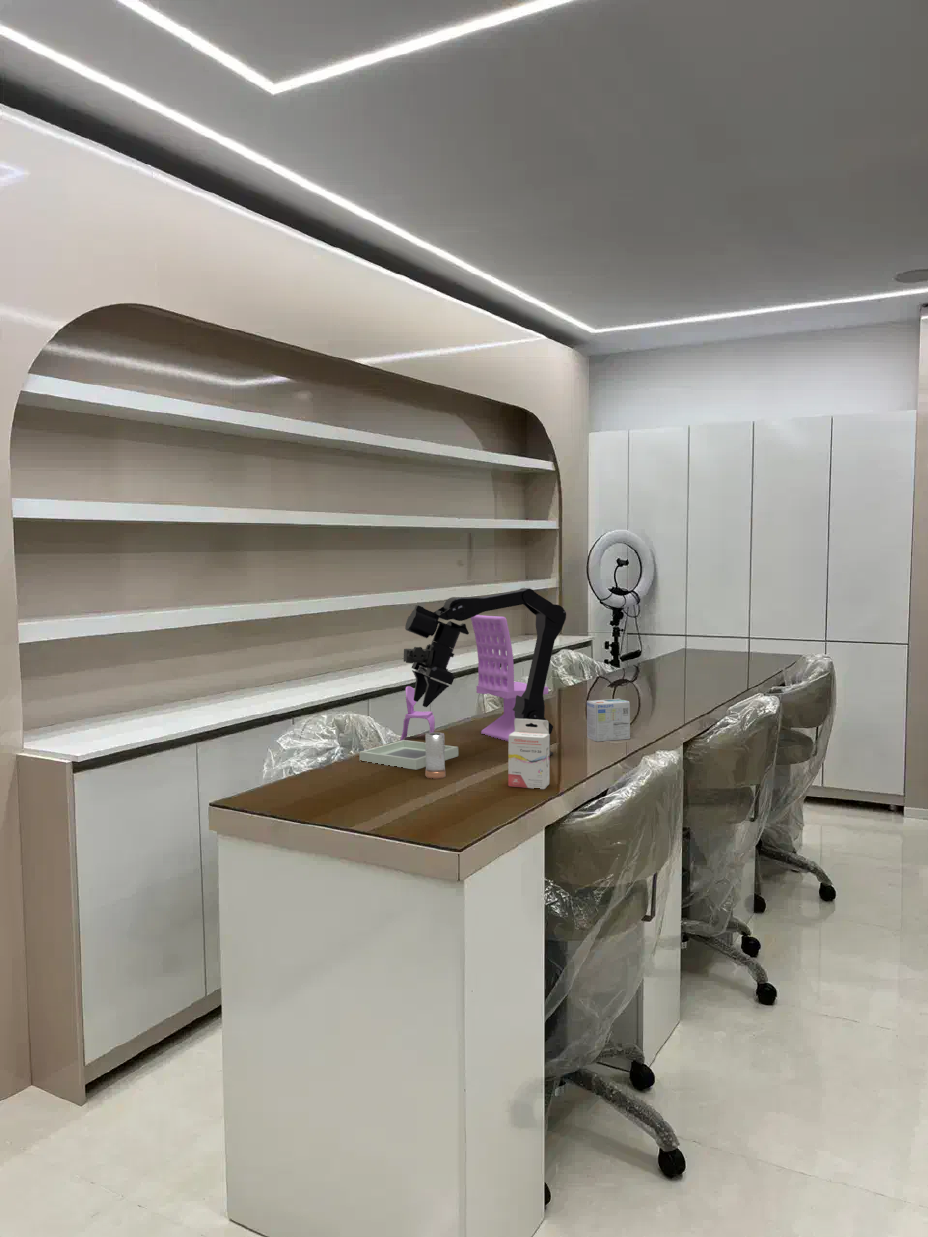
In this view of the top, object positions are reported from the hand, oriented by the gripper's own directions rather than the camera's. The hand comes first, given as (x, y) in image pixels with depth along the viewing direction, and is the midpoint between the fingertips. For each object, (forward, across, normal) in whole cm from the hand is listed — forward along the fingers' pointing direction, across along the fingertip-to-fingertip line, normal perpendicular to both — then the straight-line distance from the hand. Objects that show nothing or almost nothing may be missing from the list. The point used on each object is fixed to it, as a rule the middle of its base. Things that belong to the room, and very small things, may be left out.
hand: (419, 703), depth 224 cm
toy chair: (+12, -32, +13) cm, 37 cm away
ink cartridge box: (+7, +28, +22) cm, 37 cm away
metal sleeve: (+14, +13, +6) cm, 20 cm away
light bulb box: (-8, -14, +59) cm, 62 cm away
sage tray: (+14, -8, +5) cm, 17 cm away
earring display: (+1, -28, +36) cm, 46 cm away
